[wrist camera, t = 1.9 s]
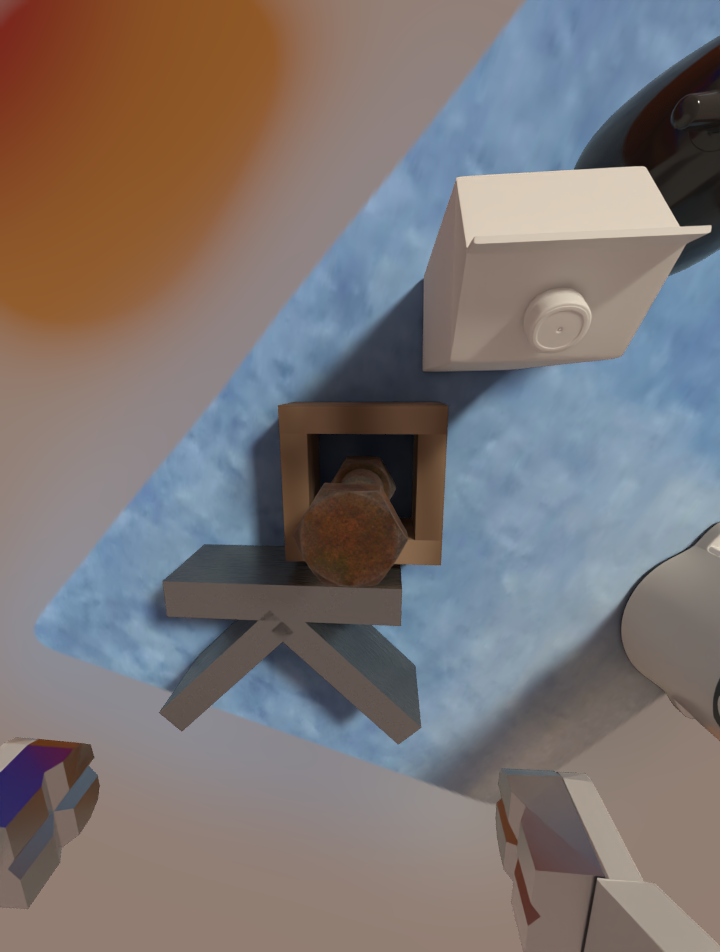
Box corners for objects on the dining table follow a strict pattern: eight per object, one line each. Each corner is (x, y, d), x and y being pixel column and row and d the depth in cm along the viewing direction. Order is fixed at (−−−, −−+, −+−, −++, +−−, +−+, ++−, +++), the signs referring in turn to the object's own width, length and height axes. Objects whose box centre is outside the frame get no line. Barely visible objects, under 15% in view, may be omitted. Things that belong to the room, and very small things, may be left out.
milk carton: (423, 275, 30) (478, 106, 12) (519, 271, 30) (735, 88, 11) (421, 372, 32) (468, 357, 13) (512, 370, 31) (692, 351, 13)
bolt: (373, 514, 35) (362, 610, 20) (324, 485, 34) (277, 560, 20) (409, 459, 33) (425, 519, 19) (358, 428, 33) (334, 465, 19)
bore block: (439, 402, 32) (448, 405, 27) (433, 539, 35) (440, 565, 30) (294, 402, 33) (278, 405, 28) (299, 536, 36) (285, 560, 31)
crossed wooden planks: (419, 550, 35) (426, 590, 28) (414, 681, 38) (420, 745, 32) (185, 543, 37) (139, 580, 30) (200, 671, 40) (161, 730, 33)
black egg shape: (531, 162, 28) (692, -85, 13) (688, 113, 27) (1062, -221, 12) (551, 311, 30) (709, 243, 15) (698, 272, 29) (1025, 157, 14)
